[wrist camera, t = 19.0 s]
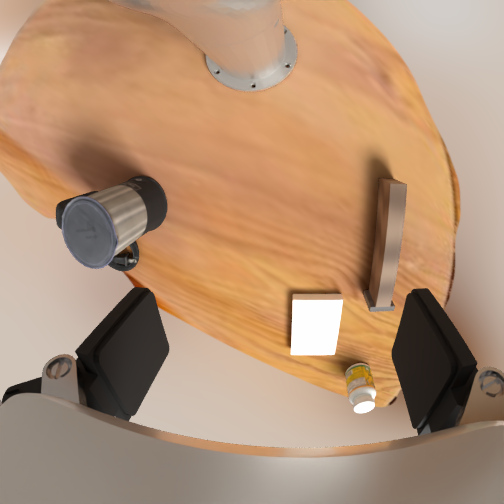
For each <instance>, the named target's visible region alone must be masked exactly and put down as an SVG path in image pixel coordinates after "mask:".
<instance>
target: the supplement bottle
mask: <svg viewBox="0 0 504 504" xmlns="http://www.w3.org/2000/svg"><path fill="white" fill-rule="evenodd" d="M345 376H346V383H347V390H348V398H349V401H350V402H351V403H352V404H353V408H354V411H355V412H357V413H365V412H368V411H370V410H371V409H373V408H374V406H375V402H374V398H375V395H376V390H375V386H374V381H373V377H372V373H371V369H370V367H369V365H367V364H364V363H357V364H354V365H352V366H350V367H349V368H348V369H347V371H346V373H345Z"/></svg>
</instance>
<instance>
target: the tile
mask: <svg viewBox="0 0 504 504" xmlns="http://www.w3.org/2000/svg"><path fill="white" fill-rule="evenodd" d="M342 304H343V298H342V294H293V303H292V337H291V355H335V350H336V344H337V338H338V332H339V325H340V319H341V312H342Z"/></svg>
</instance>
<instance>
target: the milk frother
mask: <svg viewBox="0 0 504 504" xmlns="http://www.w3.org/2000/svg"><path fill="white" fill-rule="evenodd" d="M166 213H167V199H166V196H165V193H164V191H163V189H162V188H161V186H160V185H159V184H158V183H157V182H156V181H154V180H153V179H151V178H149V177H145V176H137V177H134V178H131V179H130V180H128V181H127V182H124V183H122V184H119V185H116V186H113V187H110V188H107V189H105V190H102V191H100V192H98V191H93V192H89V193H86V194H83V195H79V196H76V197H73V198H70V199H67V200H64V201H61V202H60V203H58V205H57V207H56V221H57V225H58V227H59V228H60V229H62V233H63V237H64V240H65V243H66V245H67V247H68V249H69V250H70V252H71V254H72V255H73V256H74V257H75V259H76V260H78V261H79V262H80V263H81V264H83V265H84V266H86V267H89V268H95V269H99V268H103V267H105V266H107V265H109V266H110V267H112V268H114V269H116V270H119V271H128V270H131V269H132V268H134V267H135V266H136V264H137V262H138V260H139V249H138V246H137V243H136V242H135V240H137V239H138V238H140V237H141V236H142V235H144V234H145V233H147V232H148V231H152V230H154V229H156V228H157V227H159V226H160V225H161V224H162V222H163V221H164V219H165V217H166ZM127 246H130V247H131V249H132V251H133V258H130V259H129V252H128V253H127V254H118V253H119V252H121V251H122V250H123V249H125V248H126V247H127ZM119 263H120V264H119Z"/></svg>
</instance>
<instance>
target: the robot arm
mask: <svg viewBox="0 0 504 504" xmlns="http://www.w3.org/2000/svg"><path fill="white" fill-rule="evenodd" d="M108 1H110V2H112V3H115V4H117V5H119V6H122V7H125V8H128V9H132V10H135V11H138V12H142V13H146V14H149V15H152V16H155V17H158V18H160V19H162V20H164V21H166V22H167V23H169V24H170V25H172V26H173V27H174V28H176V29H177V30H178V31H180V32H181V33H182V34H183V35H184V36H185V37H187V38H188V39H189V40H190V41H191V42H192V43H193V44H195V45H196V46H197V47H198V48H199V49H200V50H201V51H203V52H204V53H205V54H206V56H205V57H206V63H207V66H208V68H209V71H210V72H211V74H212V75H213V76H214V77H215V78H216V79H217V80H218V81H219V82H220V83H222V84H223V85H225V86H227V87H229V88H231V89H234V90H237V91H243V92H258V91H262V90H266V89H269V88H272V87H274V86H276V85H277V84H279V83H281V82H282V81H283V80H284V79H285V78H287V77H288V75H289V74H290V73H291V71H292V70H293V68H294V66H295V64H296V60H297V44H296V41H295V38H294V36H293V35H292V33H291V32H290V30H289V29H288V28H287V27H286V26H285V25H283V16H282V7H281V0H108ZM284 33H286V34H284ZM287 65H289V66H290V67H289V68H286V66H287ZM217 72H220V73H219V74H217ZM253 85H255V88H252V86H253ZM75 352H76V354H77V356H78V358H77V360H75V359H74V358H73V356H70V355H66V354H63V355H58V356H56V357H54V358H52V359H50V360H49V361H48V362H47V363H46V365H45V366H44V368H43V372H42V377H40V378H36V379H33V380H30V381H27V382H24V383H20V384H17V385H14V386H11V387H9V388H8V389H7V390H6V392H5V394H4V396H3V399H2V402H1V400H0V504H504V373H503V372H502V371H500V370H498V369H497V368H493V367H484V368H482V369H480V370H479V371H478V370H477V368H476V365H477V361H476V360H475V358H474V356H473V355H472V353H471V351H470V350H469V348H468V346H467V345H466V343H465V341H464V340H463V338H462V337H461V335H460V334H459V332H458V331H457V329H456V328H455V326H454V324H453V323H452V322H451V320H450V319H449V317H448V316H447V314H446V313H445V311H444V310H443V308H442V307H441V306H440V304H439V303H438V301H437V300H436V299H435V297H434V296H433V295H432V293H431V292H430V291H429V289H427V288H423V289H413V290H412V291H411V293H409V294H408V295H407V297H406V301H405V306H404V310H403V314H402V317H401V321H400V325H399V328H398V332H397V335H396V339H395V342H394V345H393V348H392V360H393V363H394V366H395V369H396V372H397V375H398V378H399V381H400V384H401V388H402V391H403V394H404V398H405V401H406V405H407V408H408V412H409V415H410V419H411V423H412V426H413V428H414V429H416V428H417V432H418V436H414V437H410V438H404V439H398V440H393V441H386V442H379V443H372V444H364V445H355V446H342V447H325V448H278V447H261V446H248V445H238V444H230V443H223V442H215V441H209V440H203V439H197V438H193V437H187V436H183V435H178V434H173V433H169V432H165V431H161V430H157V429H153V428H149V427H146V426H142V425H138V424H135V423H132V422H129V419H130V418H131V416H133V415H135V414H136V412H137V411H138V409H139V407H140V405H141V403H142V401H143V399H144V397H145V395H146V394H147V392H148V390H149V388H150V386H151V384H152V383H153V381H154V379H155V377H156V375H157V373H158V371H159V370H160V368H161V366H162V364H163V362H164V360H165V359H166V357H167V355H168V353H169V344H168V341H167V338H166V334H165V331H164V328H163V325H162V321H161V317H160V314H159V310H158V307H157V303H156V299H155V296H154V294H153V292H151V291H150V290H149V289H148V288H140V287H134V288H133V289H132V290H131V291H130V292H129V293H128V294H127V295H126V296H125V297H124V298H123V299H122V300H121V301H120V302H119V303H118V304H117V305H116V307H115V308H114V309H113V310H112V311H111V312H110V313H109V314H108V315H107V316H106V317H105V318H104V319H103V321H102V322H101V323H100V324H99V325H98V326H97V327H96V328H95V329H94V330H93V331H92V333H91V334H90V335H89V336H88V337H87V338H86V339H85V340H84V342H83V343H82V344H81V345H80V346H79V348H77V350H76V351H75Z"/></svg>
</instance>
